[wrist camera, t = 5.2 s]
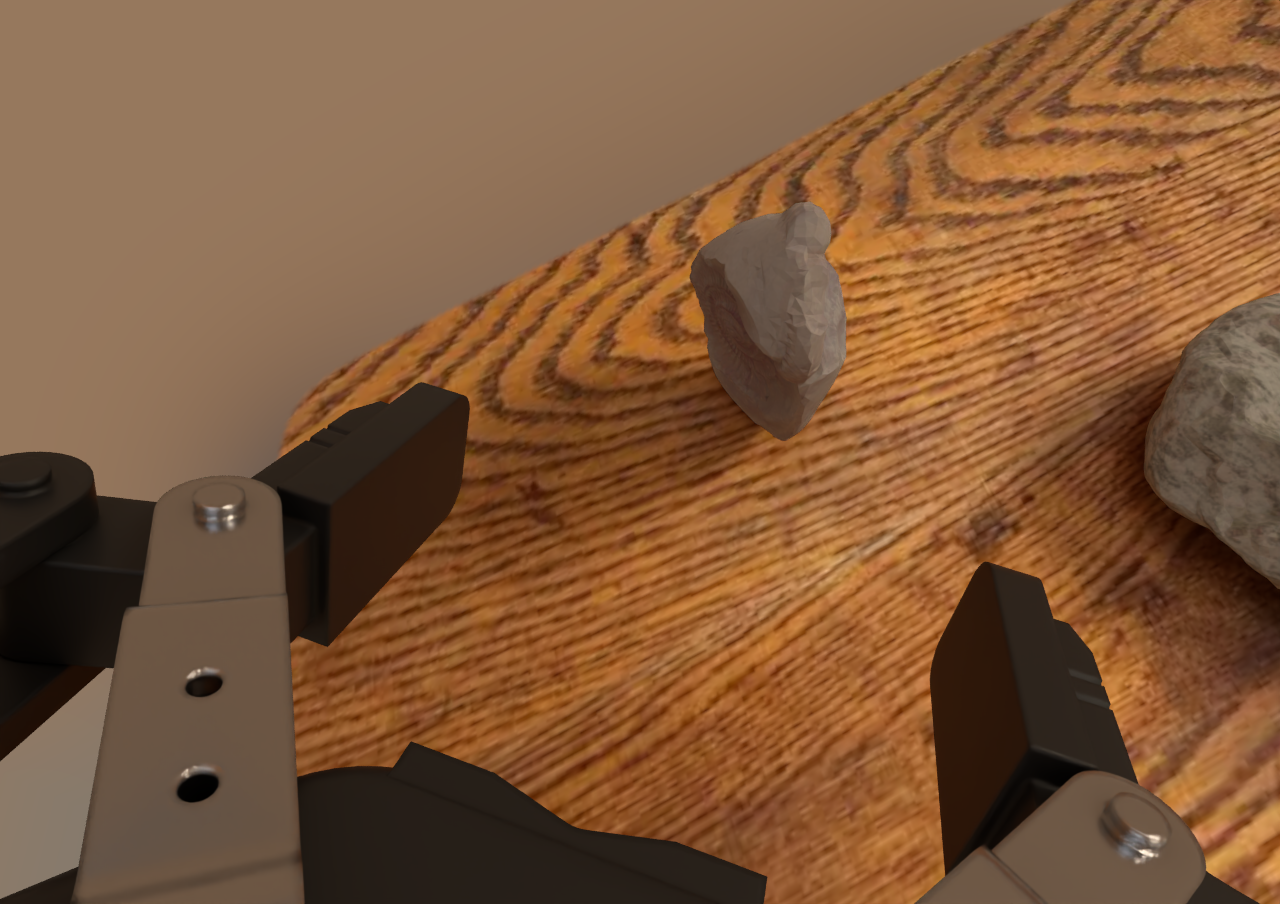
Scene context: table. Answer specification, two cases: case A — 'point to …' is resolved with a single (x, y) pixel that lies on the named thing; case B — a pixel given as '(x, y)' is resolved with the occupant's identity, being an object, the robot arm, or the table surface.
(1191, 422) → the decorative stone
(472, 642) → the table surface
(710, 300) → the grey brown rock
